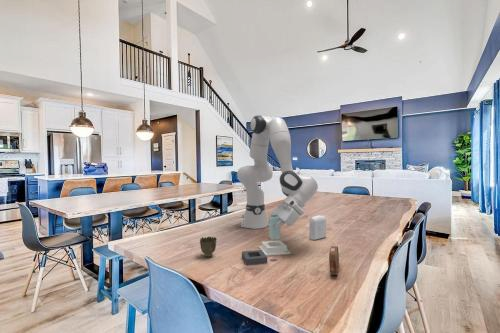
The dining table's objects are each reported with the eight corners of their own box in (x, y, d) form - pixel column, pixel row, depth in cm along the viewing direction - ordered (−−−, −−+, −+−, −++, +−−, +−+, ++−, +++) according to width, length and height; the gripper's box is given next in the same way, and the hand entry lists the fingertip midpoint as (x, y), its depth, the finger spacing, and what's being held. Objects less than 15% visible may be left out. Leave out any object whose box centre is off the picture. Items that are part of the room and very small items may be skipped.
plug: (269, 236, 124) (269, 213, 124) (277, 236, 125) (277, 213, 125) (271, 239, 120) (271, 215, 120) (279, 238, 121) (279, 214, 121)
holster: (242, 257, 115) (241, 251, 115) (261, 255, 117) (261, 249, 117) (246, 265, 106) (246, 259, 106) (267, 263, 108) (267, 257, 108)
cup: (202, 253, 120) (201, 236, 120) (217, 253, 120) (217, 236, 119) (198, 259, 112) (198, 241, 112) (215, 259, 112) (215, 241, 112)
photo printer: (321, 235, 146) (321, 213, 145) (327, 237, 142) (327, 215, 142) (308, 238, 140) (308, 216, 140) (314, 240, 137) (314, 217, 136)
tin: (337, 279, 94) (337, 256, 93) (328, 278, 95) (328, 255, 95) (339, 263, 108) (339, 243, 107) (331, 262, 109) (331, 242, 109)
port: (258, 247, 127) (258, 241, 127) (281, 245, 130) (281, 239, 130) (265, 256, 116) (265, 249, 116) (290, 253, 119) (290, 247, 118)
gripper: (280, 197, 134) (262, 217, 132) (296, 204, 114) (275, 227, 112) (288, 205, 135) (271, 225, 133) (305, 213, 115) (285, 237, 113)
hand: (273, 226), depth 122 cm, fingers closed on plug, 4 cm apart
